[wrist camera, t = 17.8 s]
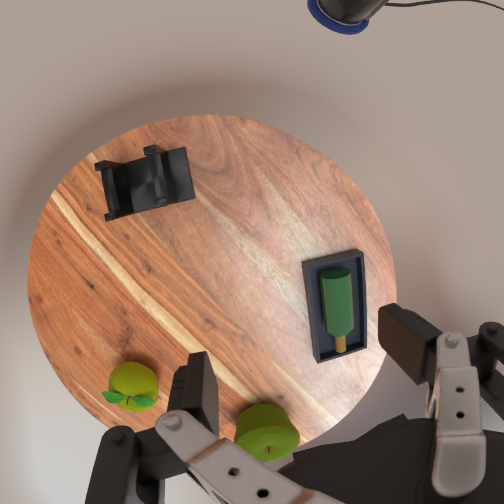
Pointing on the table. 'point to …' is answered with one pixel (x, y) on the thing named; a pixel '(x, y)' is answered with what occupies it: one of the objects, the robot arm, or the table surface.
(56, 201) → the table surface
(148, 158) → the rack
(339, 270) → the green bottle
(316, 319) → the tray
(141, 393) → the fruit
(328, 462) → the robot arm
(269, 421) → the apple
